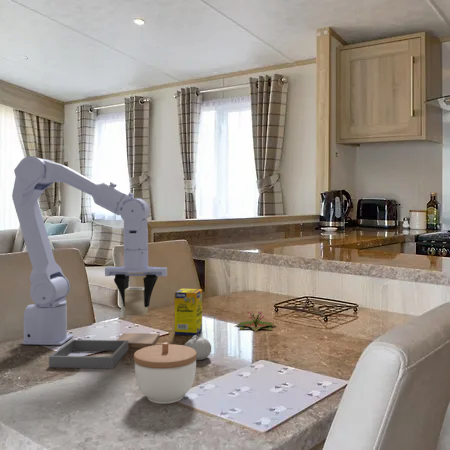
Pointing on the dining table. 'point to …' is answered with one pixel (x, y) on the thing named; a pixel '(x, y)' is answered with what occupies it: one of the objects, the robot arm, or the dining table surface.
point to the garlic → (199, 347)
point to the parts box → (135, 301)
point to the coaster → (139, 339)
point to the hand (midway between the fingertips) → (136, 306)
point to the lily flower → (255, 323)
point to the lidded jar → (165, 371)
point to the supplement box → (188, 311)
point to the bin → (66, 361)
